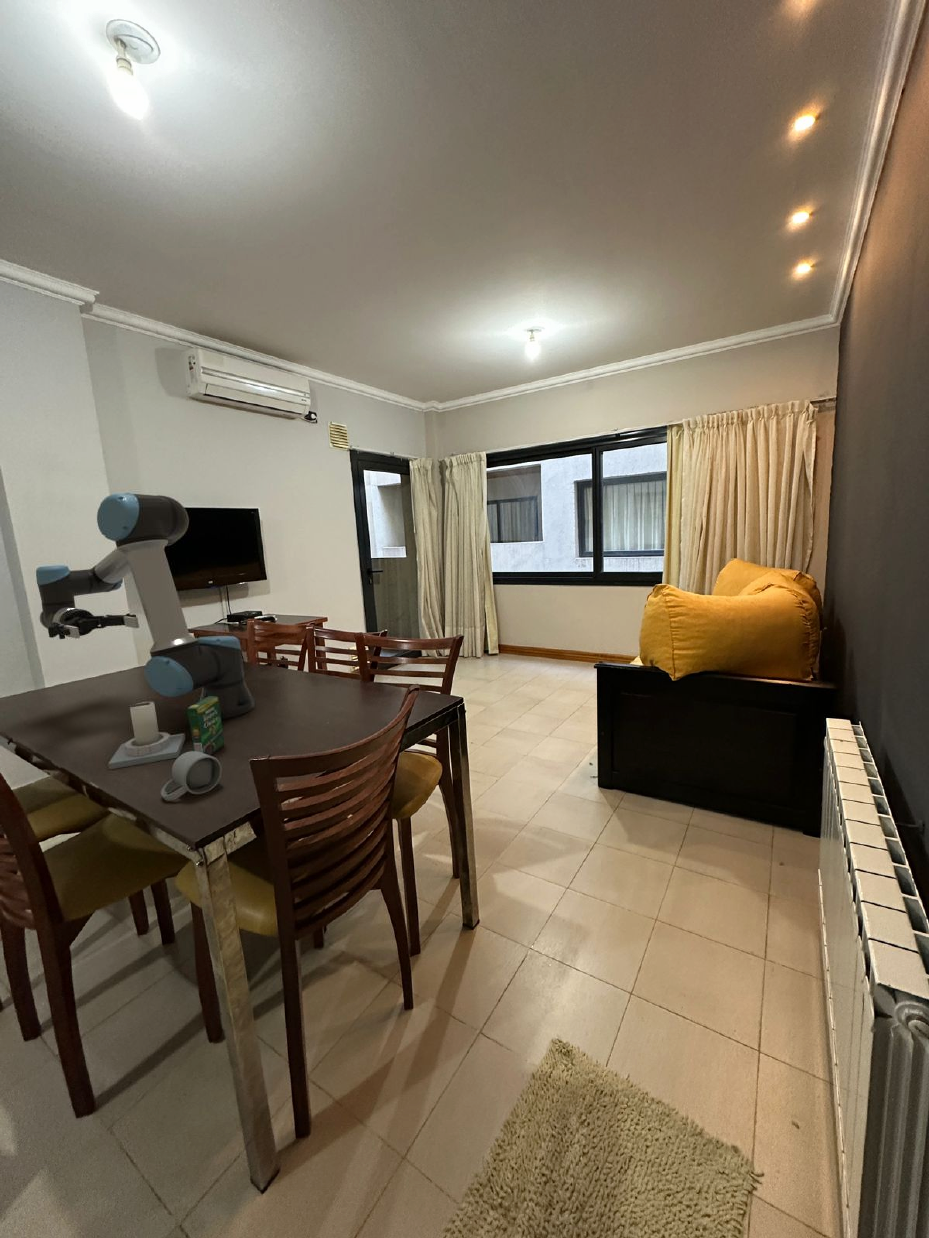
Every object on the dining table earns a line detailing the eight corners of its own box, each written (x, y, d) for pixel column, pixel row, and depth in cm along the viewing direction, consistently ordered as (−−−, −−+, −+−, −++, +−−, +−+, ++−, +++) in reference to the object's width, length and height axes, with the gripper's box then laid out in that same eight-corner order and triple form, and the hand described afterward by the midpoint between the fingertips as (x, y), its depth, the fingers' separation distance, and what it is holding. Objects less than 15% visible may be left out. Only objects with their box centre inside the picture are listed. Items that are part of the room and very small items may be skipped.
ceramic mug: (206, 774, 110) (201, 742, 109) (224, 784, 105) (219, 751, 104) (155, 796, 102) (148, 762, 101) (172, 808, 97) (166, 772, 96)
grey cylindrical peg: (162, 741, 125) (155, 698, 123) (158, 749, 120) (151, 705, 118) (139, 745, 123) (132, 702, 121) (134, 753, 119) (127, 708, 117)
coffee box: (204, 759, 118) (197, 707, 115) (193, 759, 118) (186, 707, 116) (225, 744, 125) (219, 695, 123) (215, 744, 126) (208, 695, 123)
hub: (185, 738, 130) (183, 726, 130) (178, 757, 119) (176, 743, 119) (122, 748, 125) (120, 736, 124) (109, 769, 114) (106, 755, 113)
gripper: (125, 626, 150) (160, 632, 139) (20, 644, 130) (51, 652, 118) (121, 602, 149) (156, 606, 137) (15, 616, 128) (45, 622, 117)
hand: (108, 627), depth 128 cm, fingers open, 13 cm apart
